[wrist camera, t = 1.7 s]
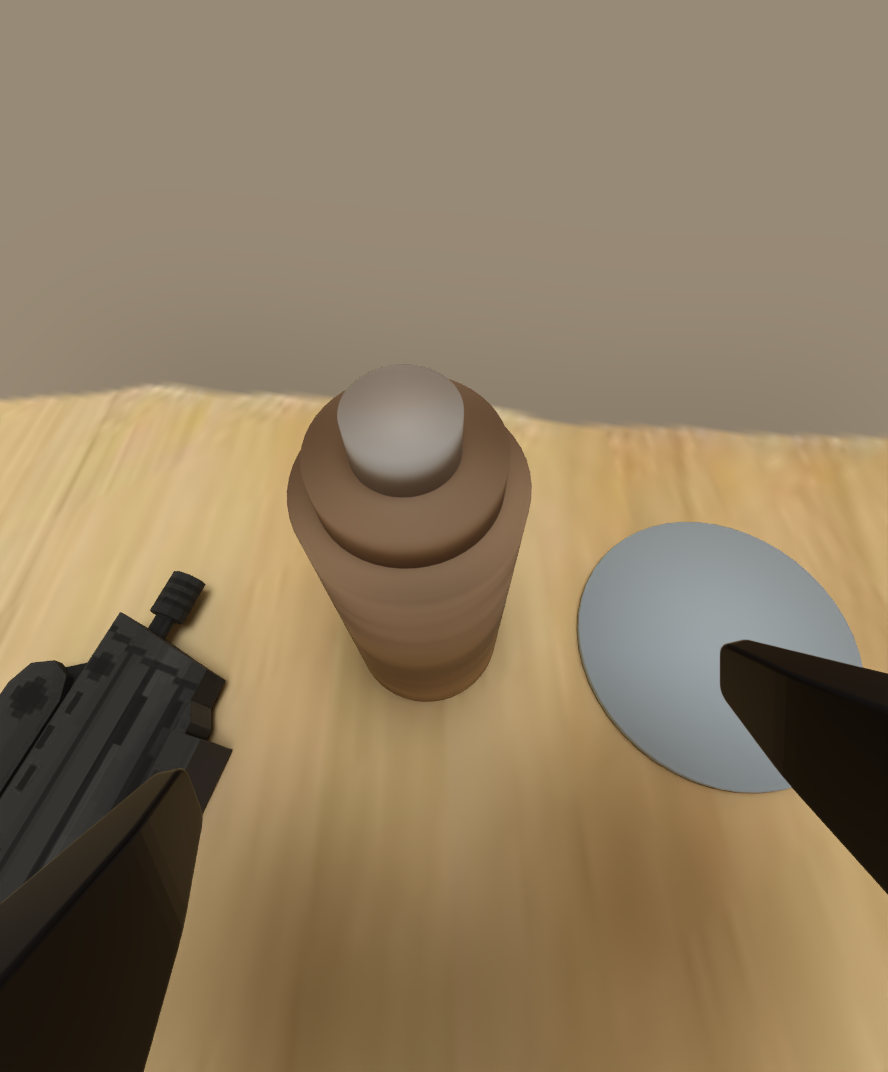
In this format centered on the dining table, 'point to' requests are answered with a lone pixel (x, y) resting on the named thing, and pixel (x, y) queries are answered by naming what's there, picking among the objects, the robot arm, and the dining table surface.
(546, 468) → the dining table surface
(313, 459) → the pepper mill
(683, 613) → the slate mat
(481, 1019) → the dining table surface
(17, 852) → the firearm
